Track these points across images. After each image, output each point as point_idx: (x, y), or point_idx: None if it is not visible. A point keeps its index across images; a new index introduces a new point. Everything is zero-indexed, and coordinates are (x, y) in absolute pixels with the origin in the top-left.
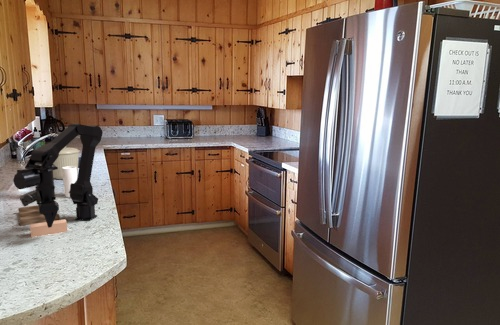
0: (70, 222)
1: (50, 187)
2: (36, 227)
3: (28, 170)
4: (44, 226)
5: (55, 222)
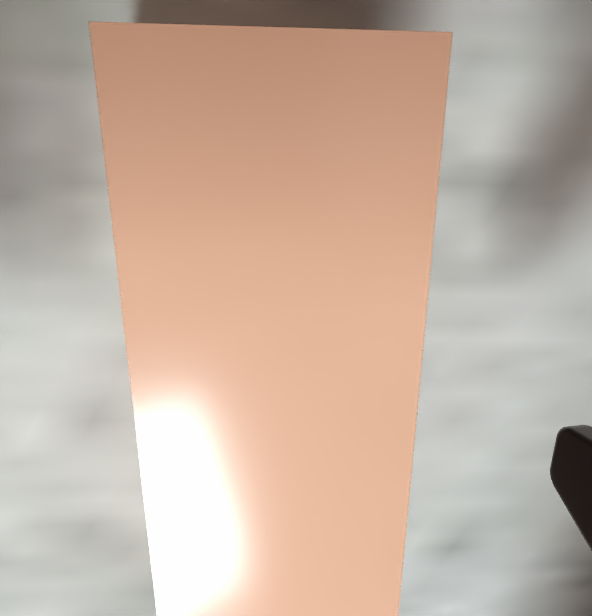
0: (556, 609)
1: None
2: (114, 204)
3: None
4: (138, 391)
5: (269, 603)
